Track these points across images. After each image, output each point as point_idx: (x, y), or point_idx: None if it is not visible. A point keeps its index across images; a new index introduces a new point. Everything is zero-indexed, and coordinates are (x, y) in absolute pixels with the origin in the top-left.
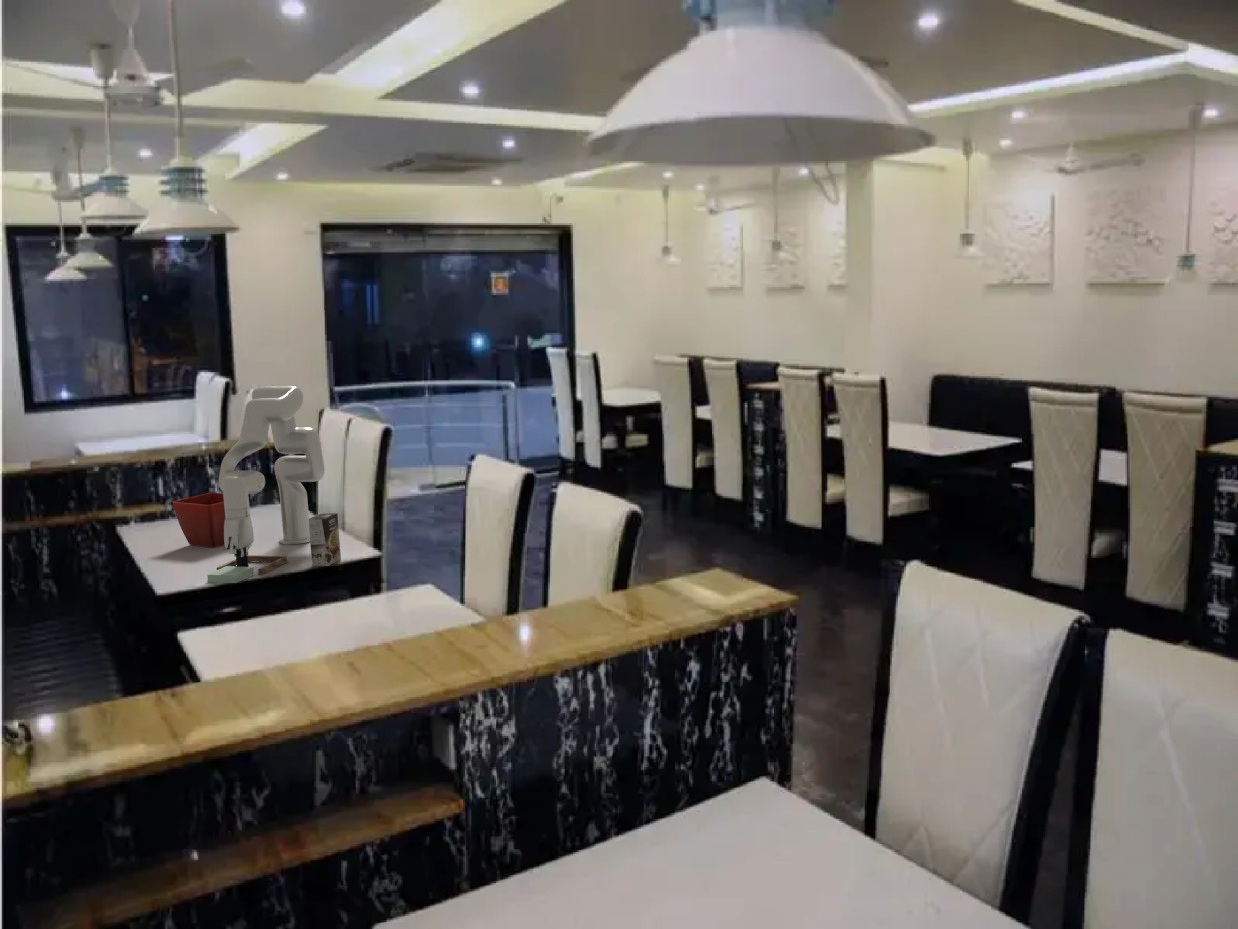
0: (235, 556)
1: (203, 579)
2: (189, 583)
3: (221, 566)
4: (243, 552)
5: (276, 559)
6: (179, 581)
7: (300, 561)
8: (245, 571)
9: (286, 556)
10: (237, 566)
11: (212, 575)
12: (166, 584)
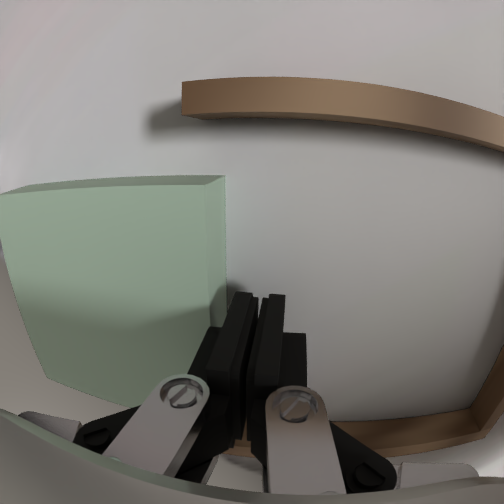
0: (166, 387)
1: (59, 108)
2: (4, 98)
3: (237, 102)
4: (201, 483)
5: (493, 392)
6: (33, 9)
7: (464, 446)
8: (129, 404)
9: (483, 437)
10: (233, 305)
11: (3, 235)
12: (3, 7)
